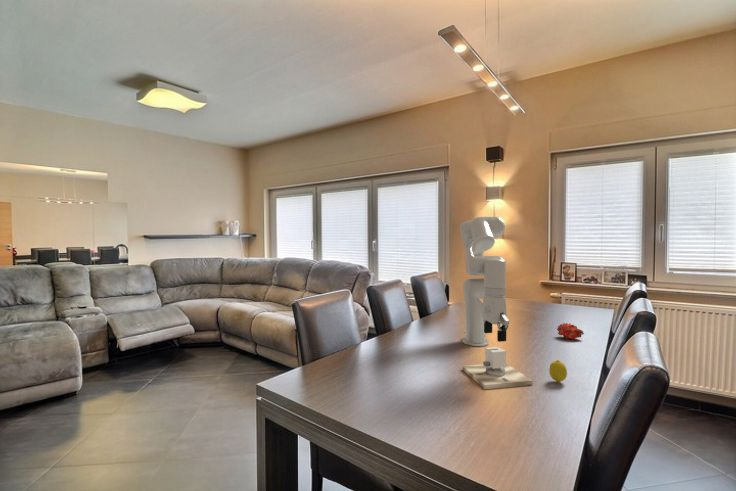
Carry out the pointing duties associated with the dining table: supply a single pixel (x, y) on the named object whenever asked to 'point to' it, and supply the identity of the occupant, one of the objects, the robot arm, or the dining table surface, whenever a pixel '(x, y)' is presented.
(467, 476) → the dining table surface
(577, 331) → the dragon fruit
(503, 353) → the white box
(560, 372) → the lemon
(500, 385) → the base
